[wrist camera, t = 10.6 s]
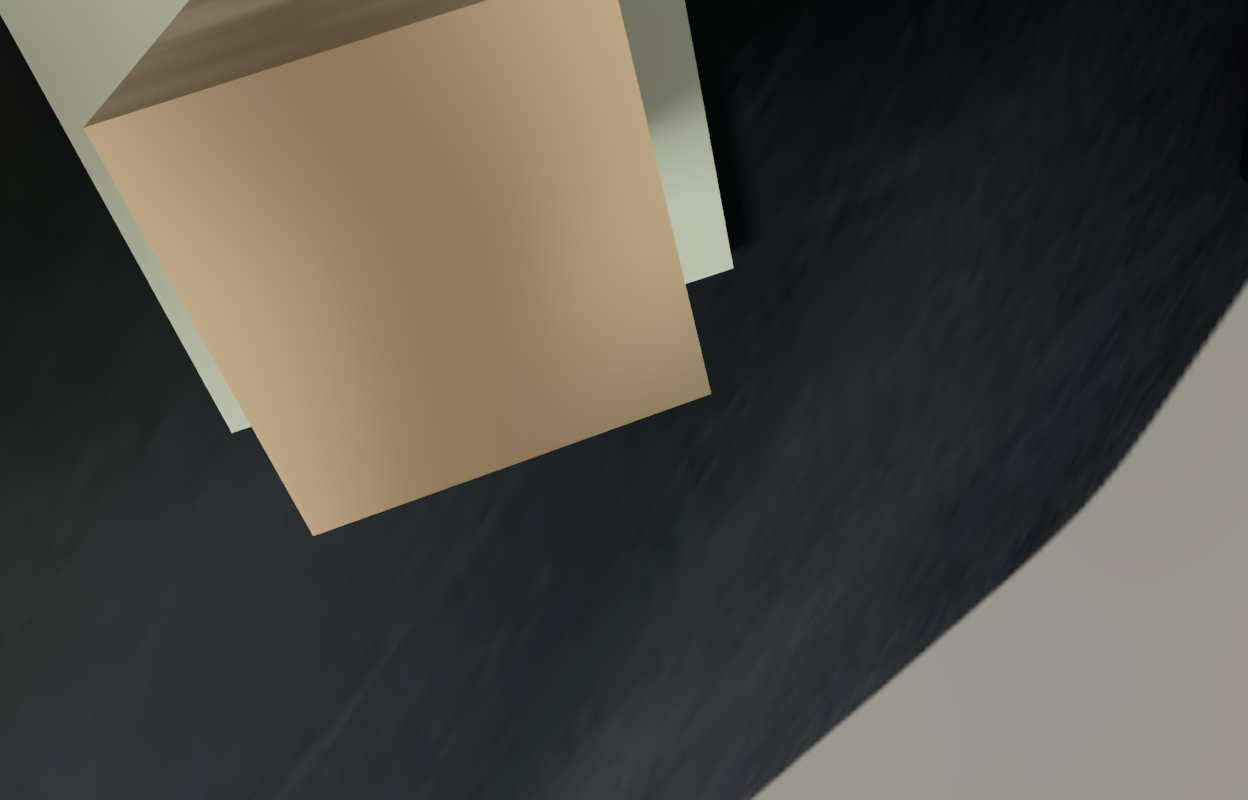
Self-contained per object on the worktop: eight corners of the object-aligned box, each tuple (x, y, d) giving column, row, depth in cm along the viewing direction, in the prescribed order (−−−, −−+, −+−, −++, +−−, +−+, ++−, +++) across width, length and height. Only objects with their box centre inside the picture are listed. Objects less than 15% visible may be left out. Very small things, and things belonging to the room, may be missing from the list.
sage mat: (608, -357, 14) (618, -364, 14) (722, 256, 20) (733, 267, 19) (-87, -174, 13) (-104, -174, 13) (234, 416, 19) (231, 432, 18)
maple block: (486, -100, 15) (609, -39, 8) (566, 174, 17) (711, 393, 11) (198, -11, 15) (83, 129, 8) (322, 256, 17) (313, 535, 10)
